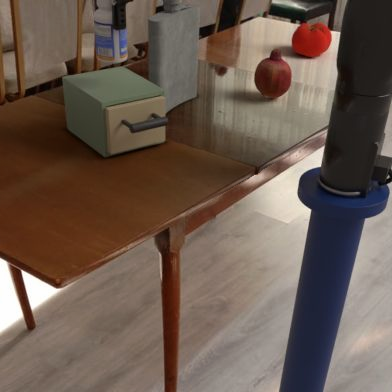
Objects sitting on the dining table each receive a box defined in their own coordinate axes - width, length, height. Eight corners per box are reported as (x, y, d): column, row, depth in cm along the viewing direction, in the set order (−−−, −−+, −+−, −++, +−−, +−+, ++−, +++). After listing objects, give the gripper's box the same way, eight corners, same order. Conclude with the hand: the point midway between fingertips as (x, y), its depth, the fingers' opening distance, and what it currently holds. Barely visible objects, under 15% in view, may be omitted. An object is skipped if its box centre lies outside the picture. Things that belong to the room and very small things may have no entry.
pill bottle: (120, 52, 111) (117, -9, 105) (132, 61, 108) (130, -2, 101) (91, 56, 109) (87, -7, 103) (103, 65, 106) (99, 1, 99)
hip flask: (159, 118, 125) (159, 6, 112) (142, 113, 126) (140, 3, 113) (199, 95, 136) (203, -9, 122) (183, 91, 137) (185, -13, 124)
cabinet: (164, 142, 116) (164, 89, 110) (104, 157, 110) (101, 102, 104) (124, 116, 125) (122, 66, 119) (67, 129, 119) (61, 76, 113)
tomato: (287, 56, 158) (290, 28, 154) (294, 45, 166) (298, 18, 162) (325, 61, 156) (330, 33, 152) (331, 49, 164) (336, 22, 160)
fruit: (272, 89, 140) (278, 41, 133) (296, 100, 135) (303, 51, 129) (244, 95, 136) (248, 46, 130) (268, 107, 132) (273, 57, 125)
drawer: (178, 149, 112) (179, 105, 107) (123, 163, 107) (121, 118, 102) (127, 116, 123) (126, 75, 118) (75, 127, 117) (71, 85, 112)
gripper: (151, -93, 91) (152, 33, 103) (102, -105, 100) (108, 12, 111) (105, -91, 88) (112, 39, 99) (60, -103, 97) (70, 17, 108)
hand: (110, 24), depth 105 cm, fingers closed on pill bottle, 5 cm apart
